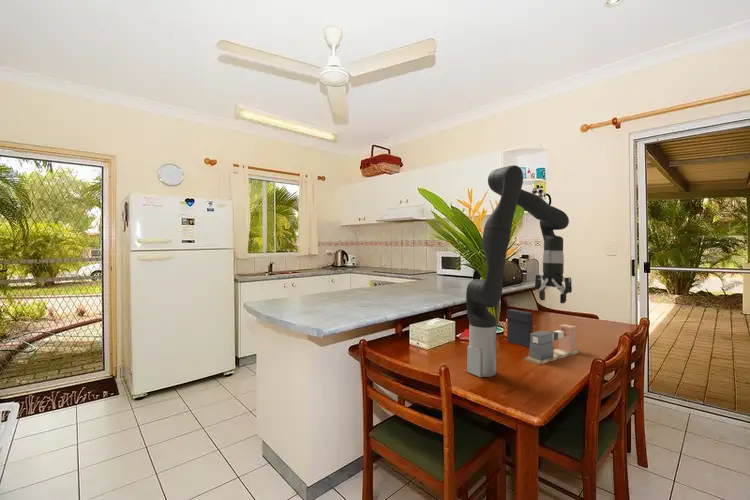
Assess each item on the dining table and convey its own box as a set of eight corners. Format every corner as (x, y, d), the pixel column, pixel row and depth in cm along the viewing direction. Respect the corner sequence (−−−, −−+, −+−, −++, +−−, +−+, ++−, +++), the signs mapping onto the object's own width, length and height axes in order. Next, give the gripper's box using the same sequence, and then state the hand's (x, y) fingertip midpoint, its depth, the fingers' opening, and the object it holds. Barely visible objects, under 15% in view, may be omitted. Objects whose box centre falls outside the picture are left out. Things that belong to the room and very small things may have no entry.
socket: (570, 352, 145) (570, 327, 144) (559, 348, 149) (559, 325, 149) (576, 350, 147) (576, 326, 147) (564, 347, 151) (564, 324, 151)
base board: (539, 364, 133) (539, 362, 133) (525, 360, 138) (525, 357, 138) (580, 352, 147) (580, 349, 147) (566, 348, 153) (566, 346, 153)
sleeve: (541, 360, 134) (541, 335, 134) (529, 357, 139) (529, 333, 138) (553, 357, 139) (553, 333, 138) (541, 353, 143) (541, 330, 143)
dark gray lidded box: (533, 346, 156) (533, 312, 156) (528, 347, 154) (528, 313, 154) (511, 340, 166) (512, 308, 165) (506, 341, 163) (506, 309, 163)
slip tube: (538, 344, 135) (538, 337, 135) (531, 342, 138) (531, 335, 138) (564, 337, 144) (564, 330, 144) (557, 336, 146) (557, 329, 146)
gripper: (531, 261, 146) (530, 299, 147) (565, 262, 134) (564, 305, 135) (542, 260, 150) (541, 298, 151) (576, 262, 138) (575, 303, 139)
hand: (552, 301), depth 143 cm, fingers open, 8 cm apart
